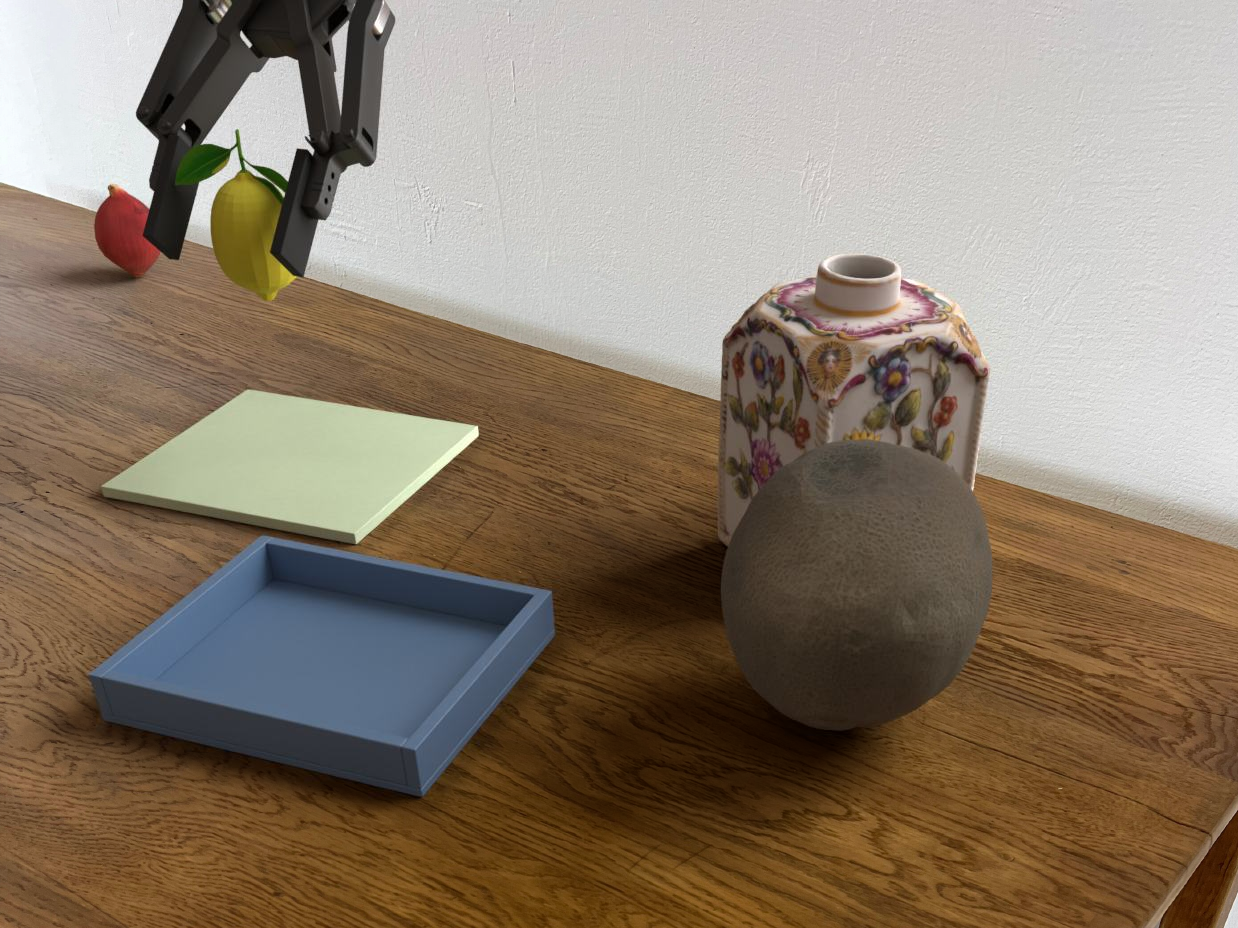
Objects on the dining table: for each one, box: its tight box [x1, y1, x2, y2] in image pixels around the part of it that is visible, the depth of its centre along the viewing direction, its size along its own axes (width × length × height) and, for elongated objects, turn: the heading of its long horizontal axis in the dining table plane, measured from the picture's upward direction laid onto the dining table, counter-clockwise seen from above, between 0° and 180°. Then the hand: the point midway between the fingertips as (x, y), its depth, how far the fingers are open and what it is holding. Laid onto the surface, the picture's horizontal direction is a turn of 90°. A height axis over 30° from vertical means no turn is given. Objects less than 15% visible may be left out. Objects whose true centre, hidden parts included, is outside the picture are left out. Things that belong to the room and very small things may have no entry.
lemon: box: [175, 128, 298, 302], centre depth 85 cm, size 7×6×10 cm
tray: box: [88, 534, 556, 798], centre depth 76 cm, size 20×17×3 cm
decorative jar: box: [717, 253, 991, 547], centre depth 81 cm, size 12×12×18 cm
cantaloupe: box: [720, 439, 994, 732], centre depth 69 cm, size 14×14×15 cm
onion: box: [93, 183, 161, 278], centre depth 125 cm, size 6×6×8 cm
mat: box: [100, 388, 480, 545], centre depth 97 cm, size 20×18×1 cm
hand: (223, 256), depth 84 cm, fingers closed on lemon, 8 cm apart
